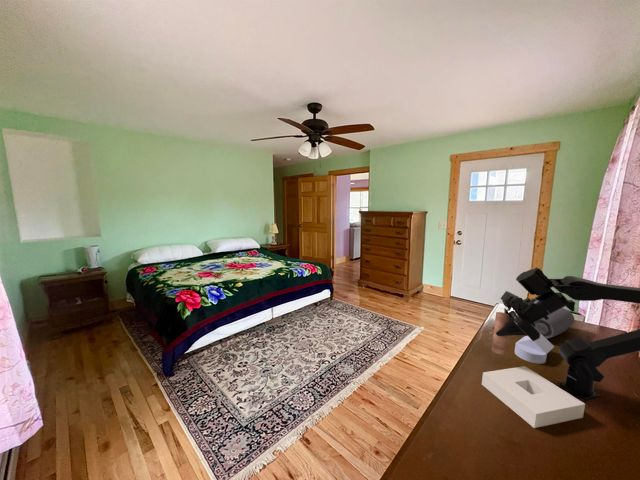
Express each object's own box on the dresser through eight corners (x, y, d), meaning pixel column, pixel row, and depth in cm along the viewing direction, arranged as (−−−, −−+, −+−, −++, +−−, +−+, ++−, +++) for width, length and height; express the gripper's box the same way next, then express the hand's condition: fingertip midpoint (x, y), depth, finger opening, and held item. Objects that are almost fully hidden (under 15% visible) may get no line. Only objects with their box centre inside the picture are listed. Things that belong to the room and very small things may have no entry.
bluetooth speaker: (547, 323, 122) (550, 303, 120) (574, 332, 114) (577, 310, 112) (525, 335, 110) (528, 313, 109) (553, 346, 102) (557, 322, 101)
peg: (497, 347, 88) (501, 311, 86) (507, 353, 84) (512, 316, 82) (489, 349, 87) (493, 312, 85) (499, 355, 83) (503, 317, 81)
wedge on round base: (523, 343, 103) (510, 354, 96) (526, 328, 102) (512, 337, 95) (553, 355, 96) (540, 366, 89) (555, 338, 95) (543, 348, 88)
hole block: (523, 377, 83) (524, 366, 82) (582, 417, 68) (585, 404, 67) (481, 384, 80) (483, 372, 79) (534, 428, 64) (536, 413, 64)
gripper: (513, 277, 89) (473, 302, 95) (531, 295, 72) (481, 324, 78) (539, 303, 87) (496, 327, 93) (563, 327, 70) (509, 354, 76)
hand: (495, 331), depth 85 cm, fingers closed on peg, 4 cm apart
